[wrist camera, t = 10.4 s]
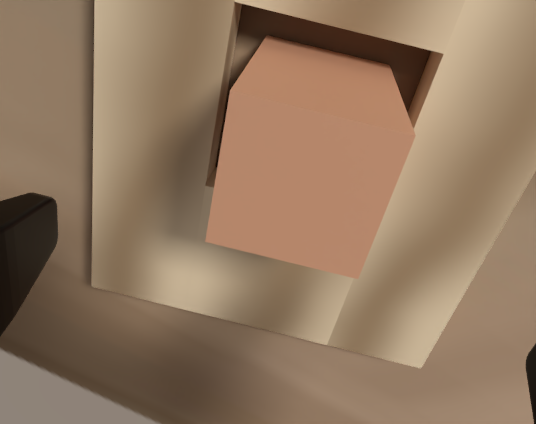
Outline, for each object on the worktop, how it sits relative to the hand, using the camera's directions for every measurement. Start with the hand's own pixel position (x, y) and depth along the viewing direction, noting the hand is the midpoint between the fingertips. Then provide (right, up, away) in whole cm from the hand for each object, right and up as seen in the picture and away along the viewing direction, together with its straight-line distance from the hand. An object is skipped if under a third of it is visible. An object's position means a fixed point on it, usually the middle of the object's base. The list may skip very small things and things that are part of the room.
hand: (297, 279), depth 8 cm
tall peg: (+1, +5, +8) cm, 9 cm away
